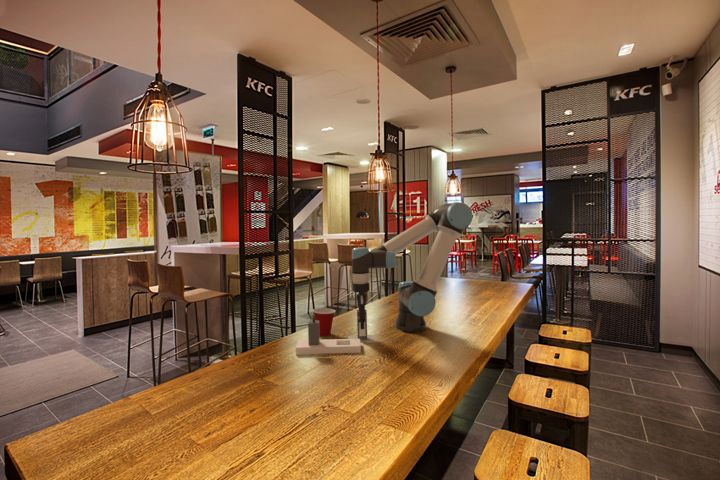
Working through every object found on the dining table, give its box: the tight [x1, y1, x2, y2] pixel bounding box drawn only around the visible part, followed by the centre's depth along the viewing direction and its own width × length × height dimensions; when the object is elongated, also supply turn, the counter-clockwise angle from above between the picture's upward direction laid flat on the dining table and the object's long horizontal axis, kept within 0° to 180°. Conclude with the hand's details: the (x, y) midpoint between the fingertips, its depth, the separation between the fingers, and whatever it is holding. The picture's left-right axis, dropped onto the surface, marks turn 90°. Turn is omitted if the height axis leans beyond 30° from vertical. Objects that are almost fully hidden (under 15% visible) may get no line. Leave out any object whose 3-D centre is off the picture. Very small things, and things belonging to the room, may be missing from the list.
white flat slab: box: [347, 334, 376, 344], centre depth 163 cm, size 12×10×1 cm
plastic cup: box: [312, 307, 337, 337], centre depth 170 cm, size 11×11×12 cm
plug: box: [356, 309, 368, 339], centre depth 163 cm, size 4×4×12 cm
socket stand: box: [295, 313, 362, 356], centre depth 150 cm, size 26×9×15 cm, turn 92°
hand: (362, 333), depth 163 cm, fingers closed on plug, 4 cm apart
